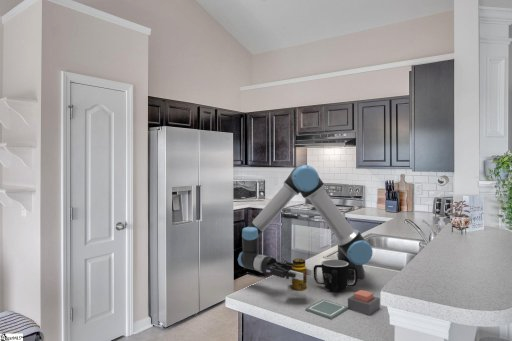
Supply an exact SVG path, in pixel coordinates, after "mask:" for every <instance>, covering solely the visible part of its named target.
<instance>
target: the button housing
mask: <svg viewBox="0 0 512 341" xmlns="http://www.w3.org/2000/svg"><path fill="white" fill-rule="evenodd" d="M380 300H381V299H380V297H378V296H377V297H376V296H374V295H373V300H371V301H370V302H368V303H367V302H363V301H360V300H356V299H354V295H351V296H349V297H348V298H347V307H348V310H352V311H354V312H356V313H360V314H364V315H367V316H371V315H372V314H373V313H375V312H376V311H378V310H379V309H380V308H381V306H380V305H381V303H380Z"/></svg>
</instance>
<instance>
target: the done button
mask: <svg viewBox="0 0 512 341" xmlns="http://www.w3.org/2000/svg"><path fill="white" fill-rule="evenodd" d="M353 294H354V299H356V300H360V301H363V302H367V303H368V302H370V301H371V300H373V296H374V293H373V292H371V291H370V292H369V291H367V290H363V289H360V290H358V291H356V292H354V293H353Z"/></svg>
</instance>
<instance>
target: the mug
mask: <svg viewBox="0 0 512 341" xmlns="http://www.w3.org/2000/svg"><path fill="white" fill-rule="evenodd" d="M317 268H319V269H321V275H322V279H323V281H321V280H319V278H318V269H317ZM349 269H353V270H354V280H353V282H349V280H348V275H349ZM313 279H314V282H315V283H316V284H319V285H324V287H325V289H326V290H327V291H330V292H337V293H338V292H344V291H345V290H347V287H355V286H356V285H357V282H358V281H359V280H358V271H357V268H356V267H351V266H349V263H348V262H346V261H342V260H338V259H326V260H323V261H322V262H321V264H315V265H314V266H313Z"/></svg>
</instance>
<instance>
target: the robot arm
mask: <svg viewBox="0 0 512 341" xmlns="http://www.w3.org/2000/svg"><path fill="white" fill-rule="evenodd" d="M324 187H325V183H324V181H322V179H321V177H320V176H319V173H318V171H317V170H316V168H315V167H312V166H310V165H306V164H303V165H297V166H296V167H294V168H293V169H292V170H291V172H290V174H289V175H288V177H287V178H286V179H285V180H284V181H283V186H282V187H281V188H280V189H279V190H278V191H277V193H276V194H275V195H274V196H273V197H272V198H271V199H270V201H269V202H268V203H267V204H266V205H265V206H264V207H263V209H262V210H261V211H260V212H259V214H258V215H257V216H256V217H255V218H253V220H252V222H250V224H249V225H248V226H247V227H243V228H242V230H241V231H242V232H241V238H242V239H241V240H242V242H241V243H242V245H241V246H242V251H241V252H239V254H238V256H237V257H238V258H237V262H238V265H239V266H241V267H243V268H245V269H248V270H252V271H256V272H259V273H261V274H267V275H272V276H275V277H279V278H282V279H286V280H290V278H291V279H292V278H295V279H298V280H303V273H300V272H295V271H292V266H293V262H289V261H285V260H284V261H283V262H281V261H278V260H276V258H275V257H271V256H268V255H264V254H259V237H260V236H261V235H262V234H263V232H264V231H265V230H266V229H267V228H268V227H269V225H270V224H271V223H272V222H273V221H274V220H275V218H277V216H278V215H279V214H280V213H281V212H282V211H283V209H285V207H286V206H287V204H289V202H291V200H292V199H293V198H294V197H295V196H298V195H299V194H301V196H302V197H303V198H304V199H307V200H308V201H309V202H310V203H311V204H312V206H313V207H314V208H315V210H316V211H317V213H318V214H319V216H320V217H321V219H322V220H323V221H324V222H325V224H326V225H327V226H328V228H329V230H330V231H331V232H332V233H333V235H334V236H335V237H336V239H337V260H342V261H346V262H348V263H349V266H351V267H356V268H357V271H358V280H357V281H359V280H362V279H364V278H366V272H365V268H364V265H366V264H368V263H369V262H370V261H371V259H372V256H373V248H372V245H371V244H370V243H369V242H368V241H367V240H365V238H364V237H363V235H362V232H361V231H359V229H355V228H353V227H352V225H351V224H350V223H349V221H348V220H347V219H346V218H345V216H344V214H342V212H341V210H340V209H339V208H338V207H337V205H336V204H335V202H334V201H333V199H332V198H331V197H330V195H329V194H328V193H327V191H326V190H325V189H324ZM306 276H309V277H314V268H307V267H306ZM348 281H354V270H353V269H349V275H348Z"/></svg>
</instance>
